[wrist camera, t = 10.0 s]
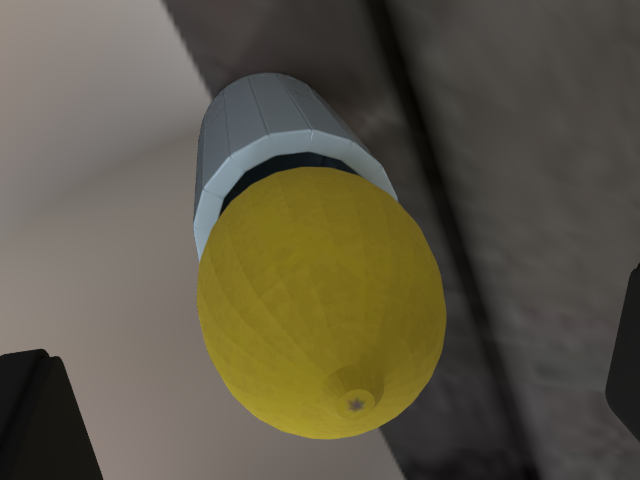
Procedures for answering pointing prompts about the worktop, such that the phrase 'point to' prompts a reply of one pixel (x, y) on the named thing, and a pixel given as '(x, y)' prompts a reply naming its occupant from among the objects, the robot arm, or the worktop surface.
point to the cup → (270, 143)
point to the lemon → (320, 303)
